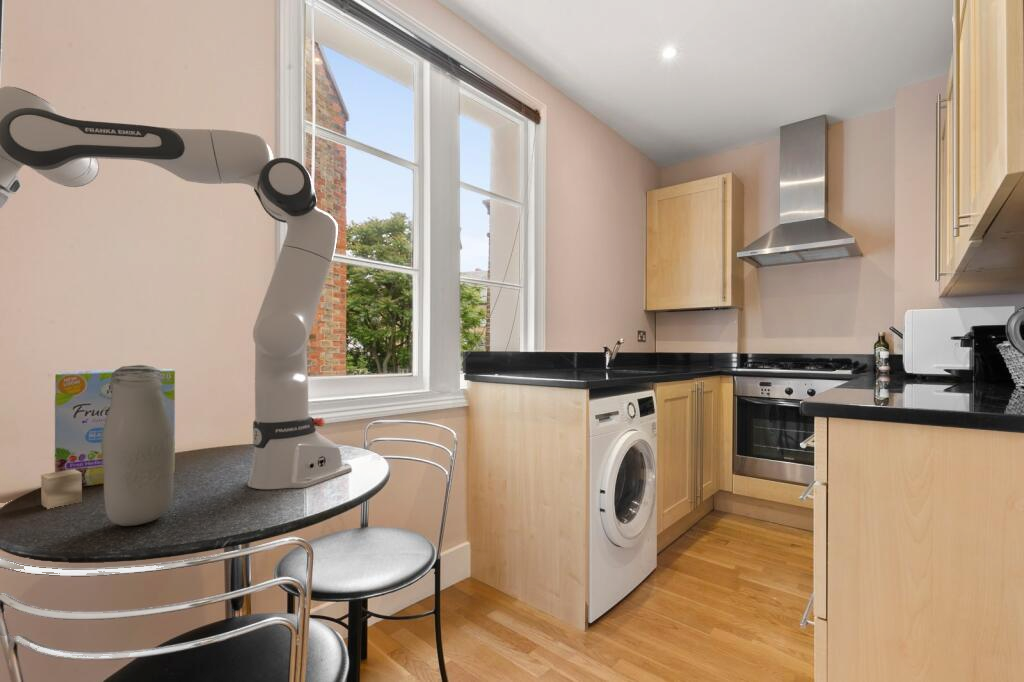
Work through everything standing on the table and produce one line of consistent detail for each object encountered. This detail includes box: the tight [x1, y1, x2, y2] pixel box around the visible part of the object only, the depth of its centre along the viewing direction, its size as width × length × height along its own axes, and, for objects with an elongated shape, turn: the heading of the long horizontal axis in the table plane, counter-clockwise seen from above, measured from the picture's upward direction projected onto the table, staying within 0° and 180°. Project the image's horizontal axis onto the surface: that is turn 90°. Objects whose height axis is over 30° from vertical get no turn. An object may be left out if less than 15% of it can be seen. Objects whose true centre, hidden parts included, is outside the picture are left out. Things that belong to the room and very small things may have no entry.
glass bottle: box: [101, 364, 174, 527], centre depth 84 cm, size 10×10×28 cm
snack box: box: [54, 368, 176, 487], centre depth 112 cm, size 22×9×26 cm, turn 129°
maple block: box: [40, 469, 83, 510], centre depth 95 cm, size 5×5×6 cm
